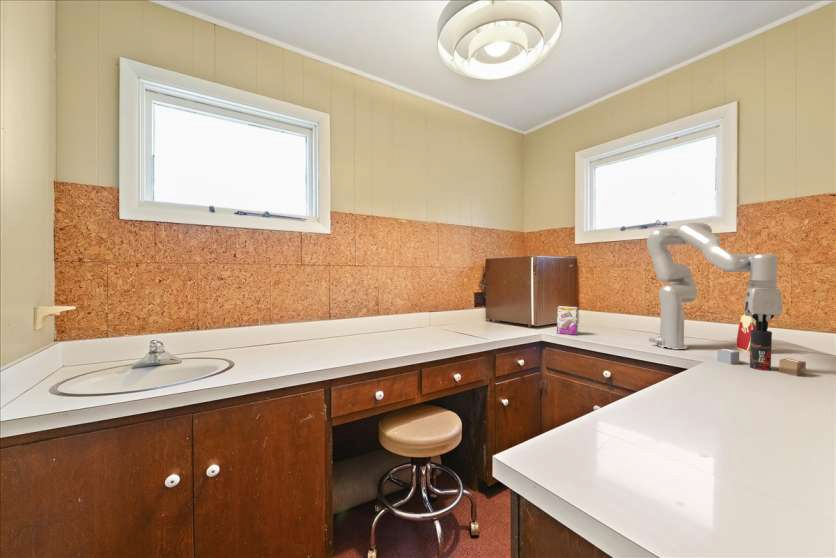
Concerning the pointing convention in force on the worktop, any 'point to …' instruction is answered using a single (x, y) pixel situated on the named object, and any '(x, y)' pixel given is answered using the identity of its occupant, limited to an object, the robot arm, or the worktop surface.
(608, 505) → the worktop surface
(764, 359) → the deodorant
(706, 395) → the worktop surface
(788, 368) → the walnut block
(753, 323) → the milk carton
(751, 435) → the worktop surface
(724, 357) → the grey block
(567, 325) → the candy bar box
